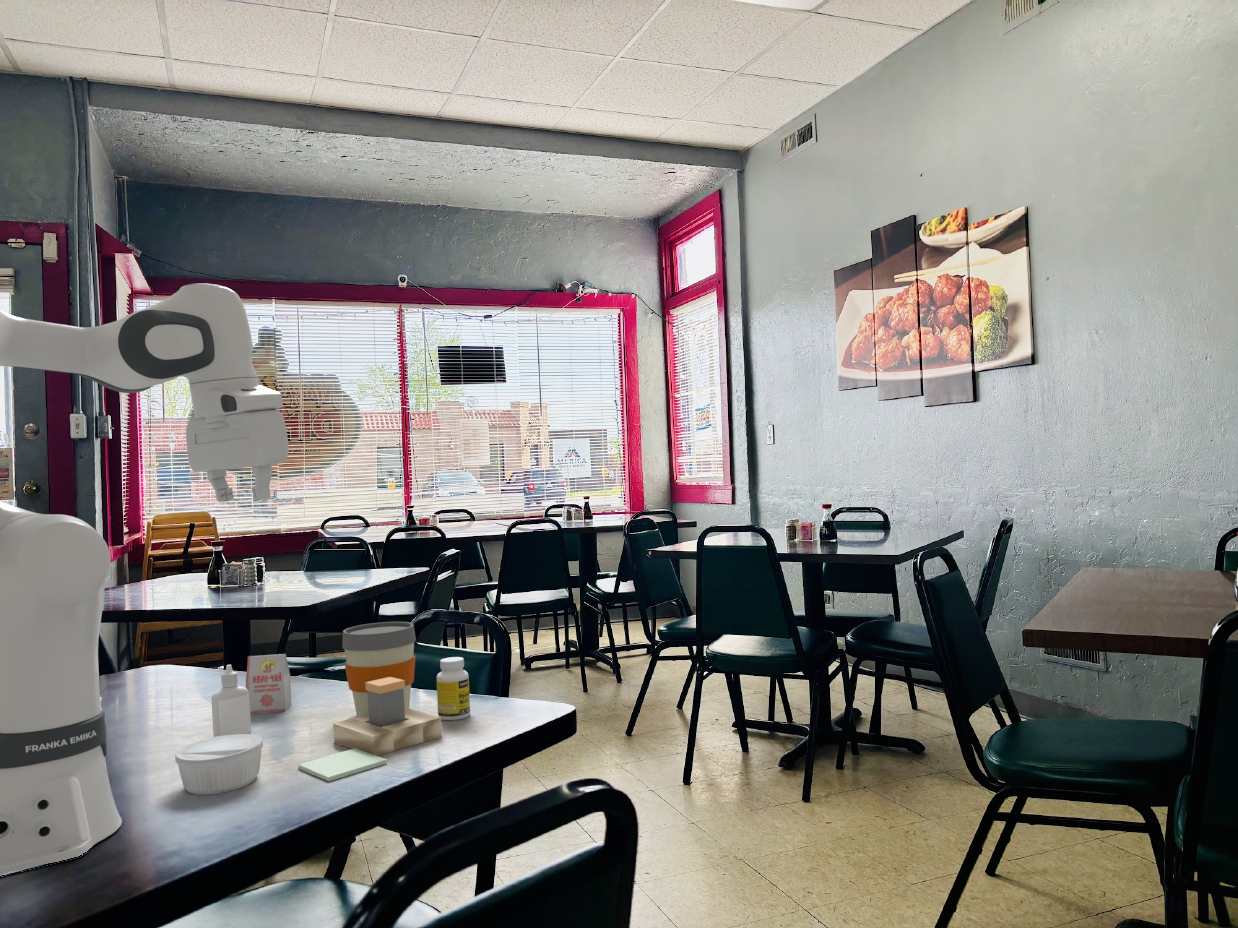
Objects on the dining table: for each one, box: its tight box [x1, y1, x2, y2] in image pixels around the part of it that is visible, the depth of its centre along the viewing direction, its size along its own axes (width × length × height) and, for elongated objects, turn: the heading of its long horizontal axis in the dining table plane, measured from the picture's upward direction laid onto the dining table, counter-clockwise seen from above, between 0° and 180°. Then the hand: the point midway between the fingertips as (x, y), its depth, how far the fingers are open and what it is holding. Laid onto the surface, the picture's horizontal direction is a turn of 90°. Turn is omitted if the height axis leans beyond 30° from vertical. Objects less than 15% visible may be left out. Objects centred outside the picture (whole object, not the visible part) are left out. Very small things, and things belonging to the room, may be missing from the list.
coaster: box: [297, 748, 388, 782], centre depth 129 cm, size 9×9×1 cm
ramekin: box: [174, 733, 264, 795], centre depth 125 cm, size 11×11×5 cm
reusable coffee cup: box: [341, 621, 417, 717], centre depth 157 cm, size 13×13×15 cm
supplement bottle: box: [436, 656, 471, 721], centre depth 152 cm, size 5×5×10 cm
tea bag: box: [245, 653, 293, 715], centre depth 164 cm, size 4×7×10 cm, turn 93°
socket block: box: [332, 707, 443, 757], centre depth 141 cm, size 12×12×3 cm
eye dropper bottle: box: [211, 664, 252, 737], centre depth 147 cm, size 4×6×12 cm
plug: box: [365, 677, 405, 727], centre depth 141 cm, size 4×4×9 cm
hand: (243, 500), depth 126 cm, fingers open, 8 cm apart
